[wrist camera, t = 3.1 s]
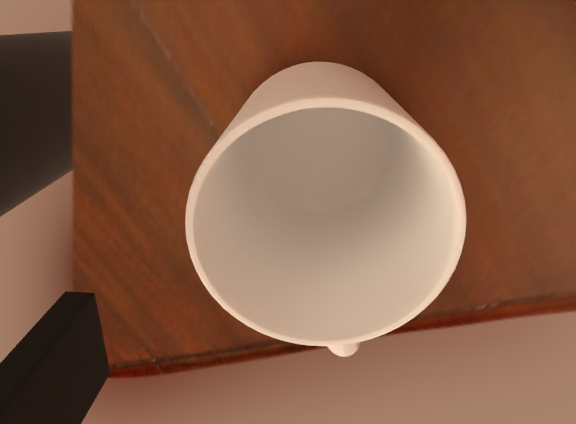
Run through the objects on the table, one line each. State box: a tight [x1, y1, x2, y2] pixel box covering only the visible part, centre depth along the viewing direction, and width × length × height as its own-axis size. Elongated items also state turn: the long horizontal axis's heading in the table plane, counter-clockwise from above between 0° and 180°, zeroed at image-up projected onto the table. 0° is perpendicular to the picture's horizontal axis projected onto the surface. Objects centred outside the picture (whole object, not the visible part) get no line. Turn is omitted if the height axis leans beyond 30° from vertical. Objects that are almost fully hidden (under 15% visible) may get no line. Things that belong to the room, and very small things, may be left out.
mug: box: [185, 62, 466, 357], centre depth 18 cm, size 12×8×10 cm
